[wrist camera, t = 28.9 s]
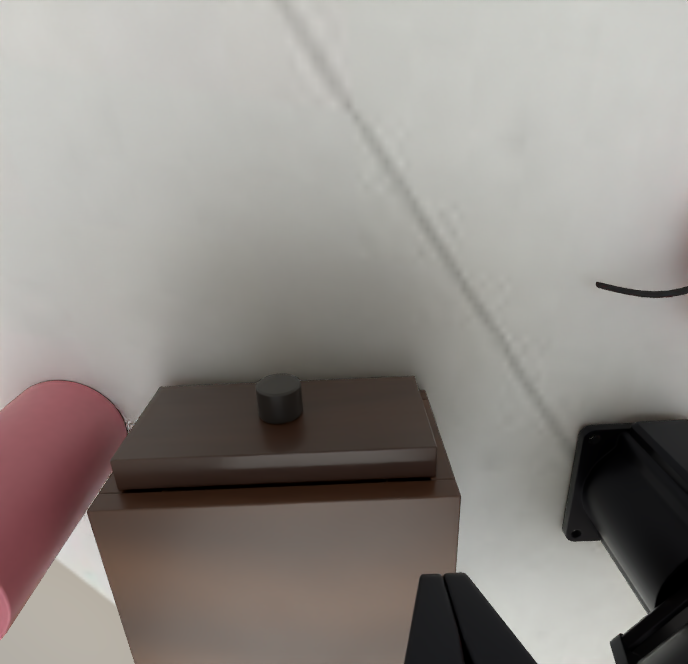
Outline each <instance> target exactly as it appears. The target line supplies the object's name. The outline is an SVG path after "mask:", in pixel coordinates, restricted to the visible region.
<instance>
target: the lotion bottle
mask: <svg viewBox="0 0 688 664" xmlns="http://www.w3.org/2000/svg"><path fill="white" fill-rule="evenodd" d="M126 436H127V431H126V426H125V423H124V421H123V419H122V417H121V415H120V413H119V412H118V410H117V409H116V408H115V406H114V405H113V404H112V403H111V402H110V401H109V400H108V399H107V398H105V397H104V396H103V395H101V394H100V393H98V392H97V391H95V390H93V389H91V388H89V387H87V386H84V385H82V384H79V383H75V382H70V381H58V380H54V381H46V382H42V383H38V384H36V385H33V386H31V387H29V388H27V389H26V390H25V391H24V392H22V393H21V394H20V395H19V396H17V397H16V398H15V399H14V400H13V401H12V402H10V403H9V404H8V405H7V406H6V407H4V408H3V409H2V410H1V411H0V640H1V639H2V638H3V637H4V635H5V634H6V633H7V631H8V630H9V628H10V627H11V625H12V624H13V622H14V621H15V619H16V617H17V616H18V614H19V613H20V611H21V610H22V608H23V607H24V605H25V604H26V602H27V601H28V599H29V597H30V596H31V594H32V593H33V591H34V590H35V588H36V587H37V585H38V584H39V582H40V581H41V579H42V578H43V576H44V575H45V573H46V572H47V570H48V568H49V567H50V565H51V564H52V562H53V561H54V559H55V558H56V556H57V555H58V553H59V552H60V550H61V549H62V547H63V546H64V544H65V543H66V541H67V539H68V538H69V536H70V535H71V533H72V532H73V530H74V529H75V527H76V526H77V524H78V523H79V521H80V520H81V518H82V517H83V515H84V513H85V512H86V510H87V509H88V507H89V506H90V504H91V503H92V501H93V500H94V498H95V497H96V495H97V494H98V492H99V491H100V489H101V487H102V486H103V484H104V483H105V481H106V480H107V478H108V477H109V475H110V474H111V472H112V467H111V463H110V460H111V458H112V457H113V455H114V454H115V452H116V451H117V449H118V448H119V446H120V445H121V444H122V442H123V441H124V439H125V438H126Z"/></svg>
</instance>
